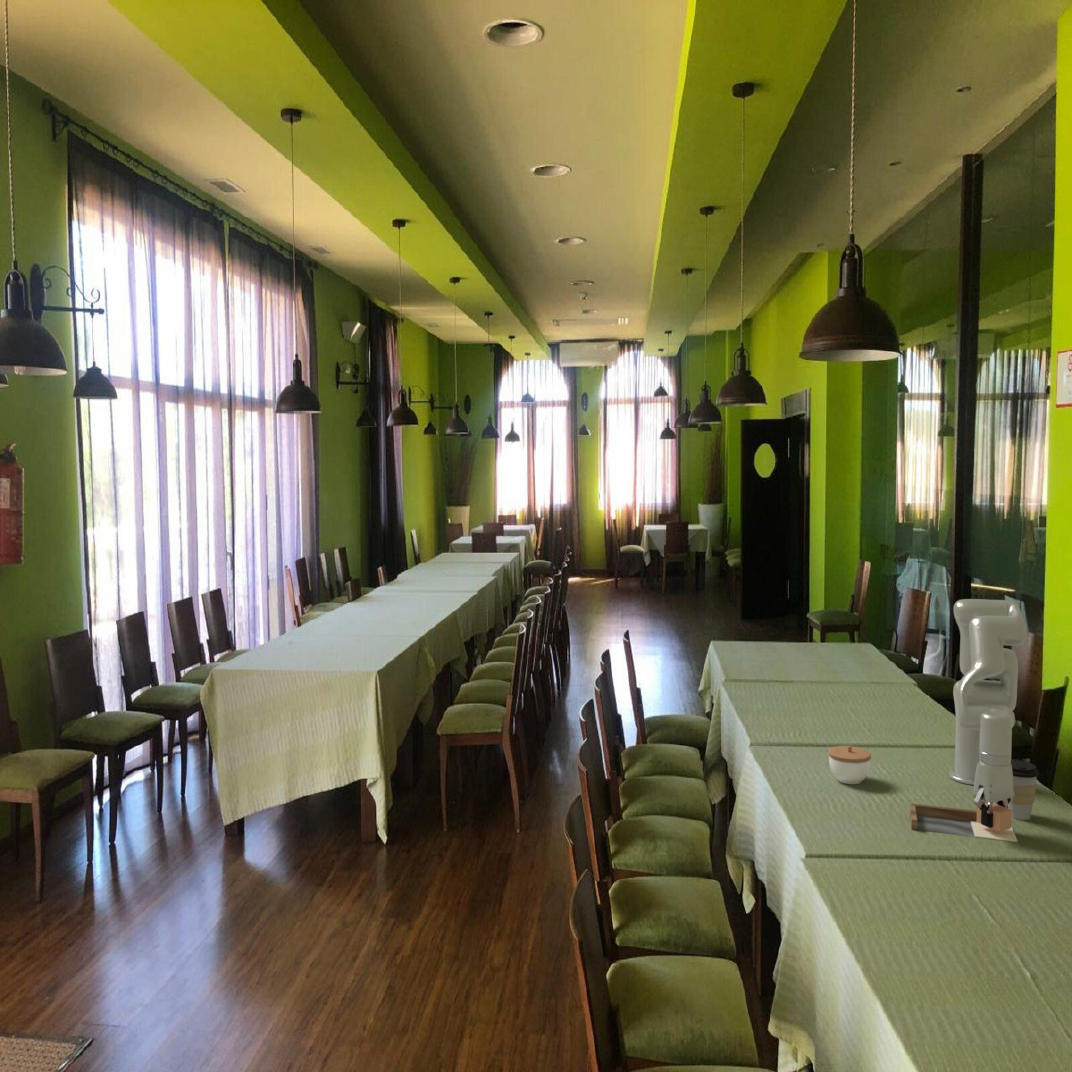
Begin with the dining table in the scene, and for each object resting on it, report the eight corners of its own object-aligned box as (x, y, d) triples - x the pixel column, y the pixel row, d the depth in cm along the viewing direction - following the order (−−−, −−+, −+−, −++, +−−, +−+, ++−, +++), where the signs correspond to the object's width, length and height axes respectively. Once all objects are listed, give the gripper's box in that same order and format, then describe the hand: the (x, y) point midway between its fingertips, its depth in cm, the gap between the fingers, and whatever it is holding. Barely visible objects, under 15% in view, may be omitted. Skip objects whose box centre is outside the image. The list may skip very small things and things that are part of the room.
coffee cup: (1018, 825, 237) (1019, 772, 235) (991, 812, 246) (992, 761, 245) (1045, 821, 239) (1047, 768, 238) (1018, 808, 248) (1019, 757, 247)
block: (976, 821, 234) (976, 803, 234) (988, 818, 236) (988, 800, 236) (999, 831, 228) (1000, 813, 228) (1011, 828, 230) (1011, 810, 229)
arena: (909, 813, 246) (909, 803, 246) (1011, 825, 237) (1011, 814, 237) (911, 830, 235) (911, 819, 235) (1018, 843, 226) (1018, 832, 225)
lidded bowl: (874, 788, 265) (874, 753, 264) (831, 786, 268) (831, 751, 267) (866, 774, 277) (867, 740, 276) (825, 772, 280) (826, 739, 279)
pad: (970, 822, 239) (970, 821, 239) (1011, 826, 235) (1011, 825, 235) (974, 836, 229) (974, 835, 229) (1017, 842, 226) (1017, 841, 226)
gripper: (1004, 749, 237) (1002, 813, 239) (960, 758, 231) (959, 825, 232) (1029, 757, 231) (1027, 823, 232) (985, 767, 224) (983, 835, 225)
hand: (993, 823), depth 232 cm, fingers closed on block, 4 cm apart
